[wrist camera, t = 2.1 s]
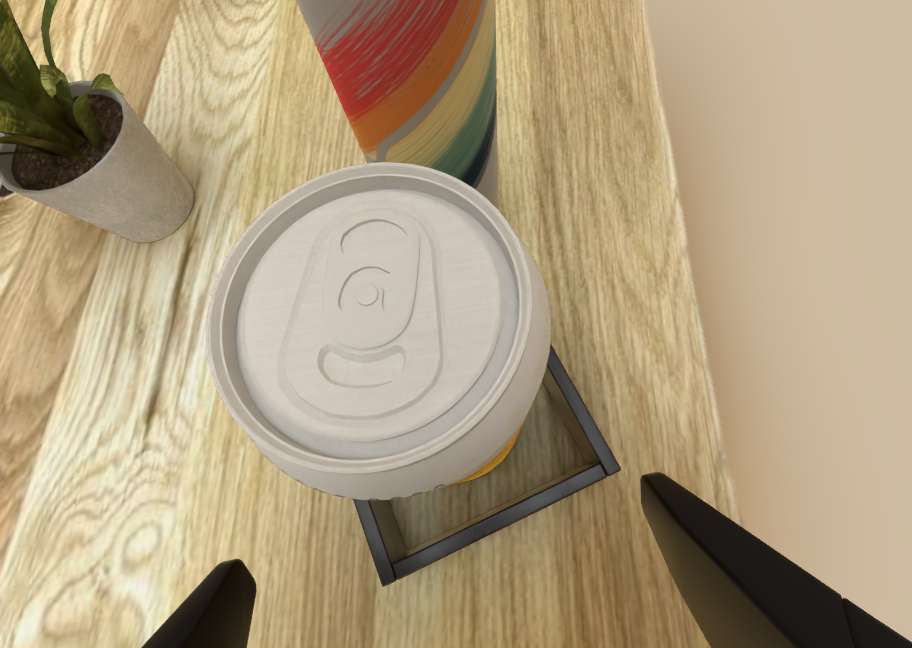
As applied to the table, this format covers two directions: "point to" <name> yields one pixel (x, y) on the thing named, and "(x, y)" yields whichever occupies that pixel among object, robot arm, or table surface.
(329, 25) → the lotion bottle
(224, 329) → the beer can
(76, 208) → the house plant
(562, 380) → the black square frame
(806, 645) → the robot arm
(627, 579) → the table surface
